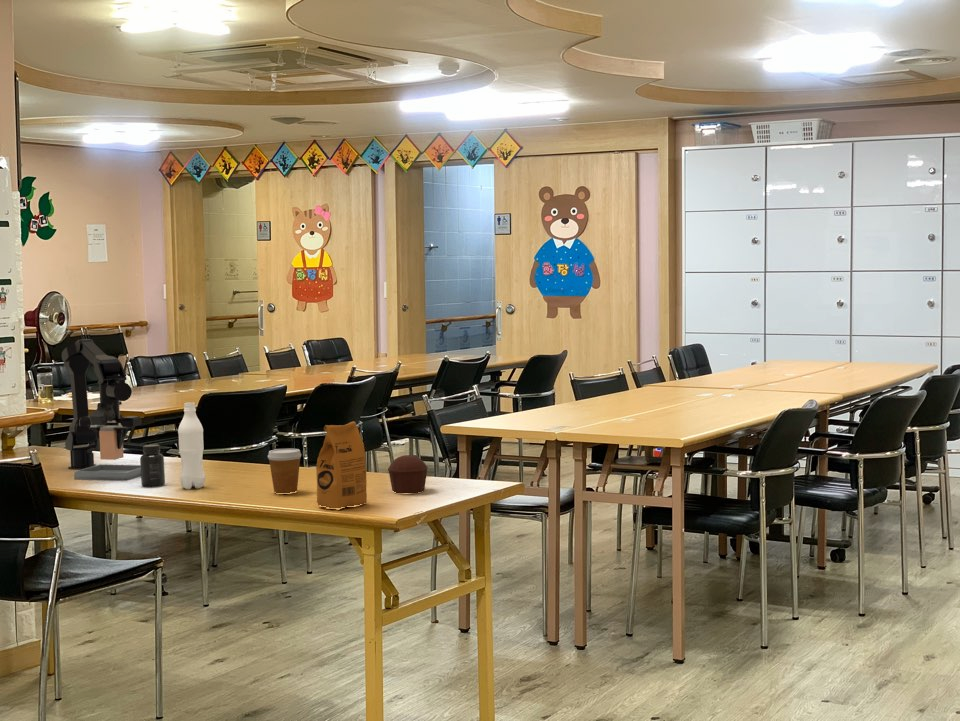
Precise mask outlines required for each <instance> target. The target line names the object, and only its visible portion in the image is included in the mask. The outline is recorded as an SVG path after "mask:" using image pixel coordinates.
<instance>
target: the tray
mask: <svg viewBox="0 0 960 721" xmlns="http://www.w3.org/2000/svg"><path fill="white" fill-rule="evenodd" d="M73 473H74V480H89V481H90V480H91V481H92V480H95V481H98V480H99V481H129V480H132V479H136V478H138V477H141V466H140V464H102V463H100V464H96V465H95V466H92V467H88V468H85V469H77V470H75V471H73Z"/></svg>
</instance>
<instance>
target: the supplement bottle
mask: <svg viewBox="0 0 960 721" xmlns="http://www.w3.org/2000/svg"><path fill="white" fill-rule="evenodd" d="M160 446H161V445H160V444H146V445H143V446H142V453H143V454H142V455H141V456H140V458H139V460H140V461H139V465H140V466H141V476H140V479H141V481H140V483H141V486H142V487H143V488H157V487H162V486H164V485H165V484H166V474H165V457H164V455H163V454H162V453H160V452H161V447H160Z"/></svg>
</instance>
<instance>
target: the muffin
mask: <svg viewBox="0 0 960 721" xmlns="http://www.w3.org/2000/svg"><path fill="white" fill-rule="evenodd" d="M428 468H429V467H428V466H427V464H426V463H425V461H424V460H422V459H421V458H420V457H418V456H416V455H412V454H404V455H400V456H397V457H396V458H395V459H394V460H392V462H391V464H390V465H389V466H388V469H387V472H388V474H389V480H390V486H391V491H394V492H396V493H416V494H419V493H418V492H421V493H423V492H425V487H426V481H427V475H428V474H427V473H428ZM422 491H423V492H422ZM394 492H393V493H394ZM396 493H395V494H396Z"/></svg>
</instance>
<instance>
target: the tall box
mask: <svg viewBox="0 0 960 721" xmlns="http://www.w3.org/2000/svg"><path fill="white" fill-rule="evenodd" d="M117 427H119V425H107V426H104V427H100V431H99V436H100V441H99V453H100V455H99V456H100V457H99V458H100V460H107V461H110V460H112V461H113V460H115V461H116V460H118V459H122V458H124V443H123V444H122V447H121V449H118V446H117V432H116V430H115V428H117Z"/></svg>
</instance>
